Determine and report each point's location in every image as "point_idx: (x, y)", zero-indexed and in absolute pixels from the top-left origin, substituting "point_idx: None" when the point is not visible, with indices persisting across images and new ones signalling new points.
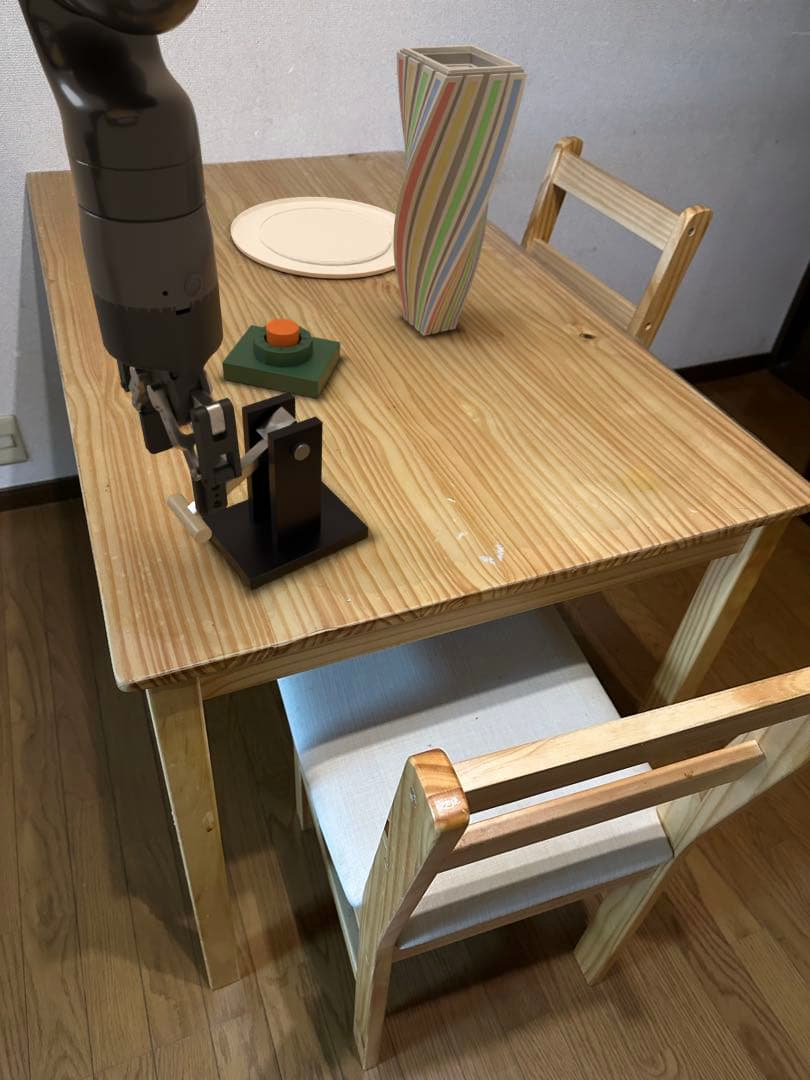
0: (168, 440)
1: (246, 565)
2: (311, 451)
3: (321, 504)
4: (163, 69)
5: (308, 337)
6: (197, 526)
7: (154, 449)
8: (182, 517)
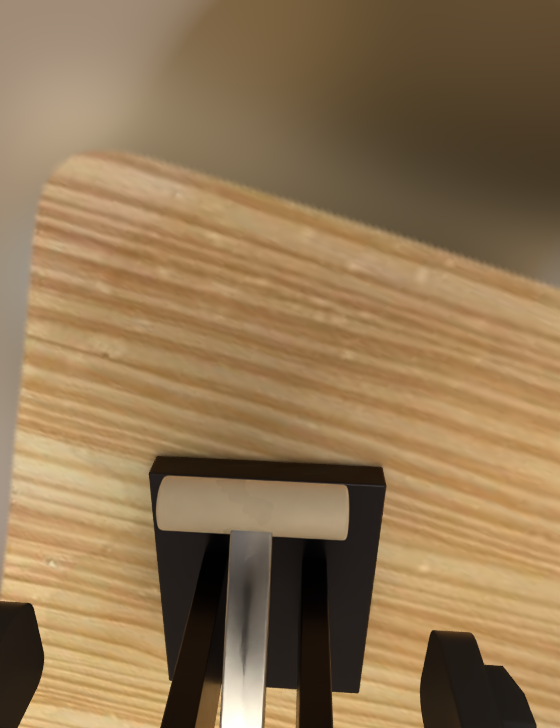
0: (431, 718)
1: None
2: None
3: (271, 661)
4: None
5: None
6: (174, 515)
7: (436, 655)
8: (246, 500)
